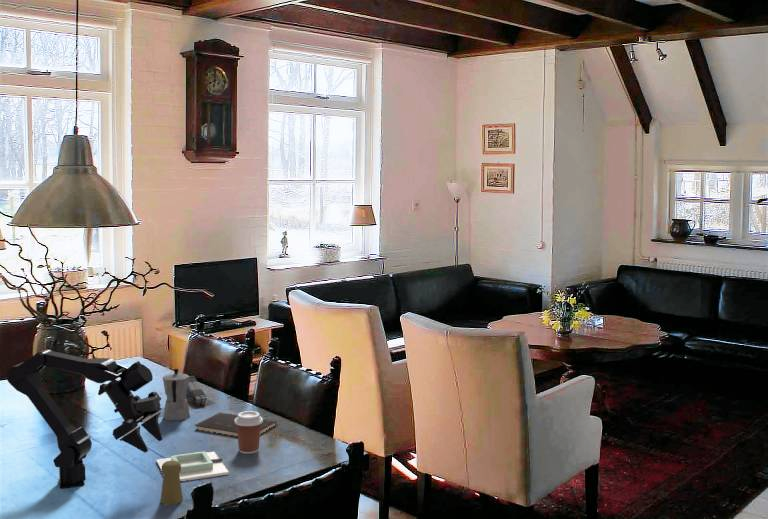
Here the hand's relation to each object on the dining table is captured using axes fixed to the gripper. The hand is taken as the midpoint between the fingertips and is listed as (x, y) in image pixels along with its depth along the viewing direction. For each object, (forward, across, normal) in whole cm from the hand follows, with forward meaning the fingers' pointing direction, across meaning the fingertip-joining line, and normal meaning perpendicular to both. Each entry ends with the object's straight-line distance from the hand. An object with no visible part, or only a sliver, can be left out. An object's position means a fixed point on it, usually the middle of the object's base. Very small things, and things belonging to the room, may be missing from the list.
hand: (154, 446), depth 228 cm
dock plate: (+13, +18, +4) cm, 22 cm away
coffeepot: (-1, +61, +24) cm, 65 cm away
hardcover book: (+14, +56, +4) cm, 57 cm away
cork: (+15, -5, +1) cm, 16 cm away
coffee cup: (+20, +36, -5) cm, 41 cm away
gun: (-2, +84, +26) cm, 88 cm away
